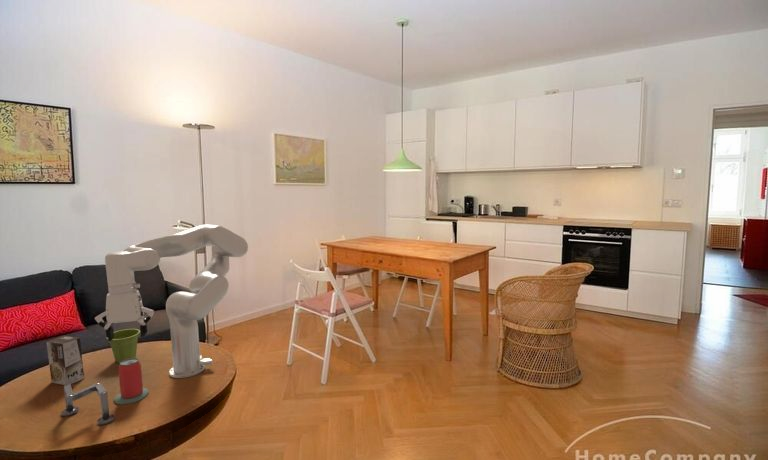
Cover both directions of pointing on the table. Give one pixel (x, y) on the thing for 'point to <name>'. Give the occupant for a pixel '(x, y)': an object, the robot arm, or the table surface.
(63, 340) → the coffee box
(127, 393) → the beer can
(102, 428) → the table surface
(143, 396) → the coaster
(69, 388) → the zigzag metal bar linkage
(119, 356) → the plant pot
